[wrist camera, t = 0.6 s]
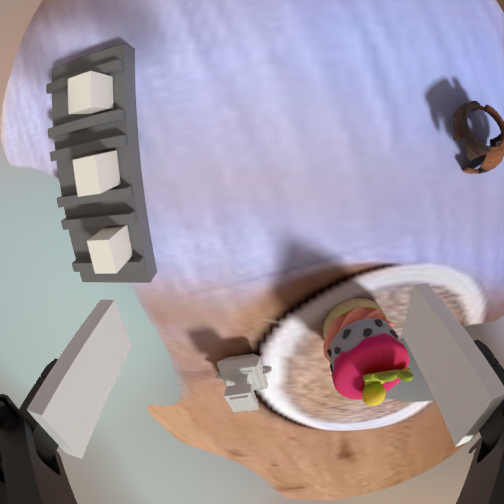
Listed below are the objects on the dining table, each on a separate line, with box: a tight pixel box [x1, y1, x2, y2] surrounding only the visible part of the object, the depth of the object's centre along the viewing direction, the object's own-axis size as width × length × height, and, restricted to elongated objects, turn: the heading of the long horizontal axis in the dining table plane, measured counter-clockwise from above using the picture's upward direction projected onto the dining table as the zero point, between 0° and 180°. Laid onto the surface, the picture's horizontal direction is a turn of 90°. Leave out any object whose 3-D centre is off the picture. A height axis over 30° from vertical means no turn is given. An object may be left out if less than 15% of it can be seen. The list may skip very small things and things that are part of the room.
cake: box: [322, 298, 413, 406], centre depth 35 cm, size 10×10×15 cm
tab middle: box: [73, 150, 121, 197], centre depth 28 cm, size 4×3×5 cm
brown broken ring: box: [453, 101, 504, 174], centre depth 28 cm, size 12×10×8 cm
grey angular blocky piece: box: [216, 354, 272, 412], centre depth 42 cm, size 9×7×8 cm
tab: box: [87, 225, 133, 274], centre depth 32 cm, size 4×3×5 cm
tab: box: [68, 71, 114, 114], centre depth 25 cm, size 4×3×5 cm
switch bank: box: [46, 44, 157, 282], centre depth 31 cm, size 30×11×4 cm, turn 2°
